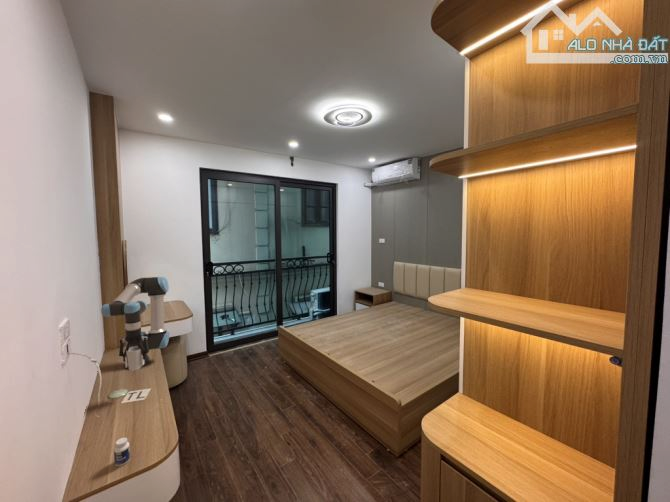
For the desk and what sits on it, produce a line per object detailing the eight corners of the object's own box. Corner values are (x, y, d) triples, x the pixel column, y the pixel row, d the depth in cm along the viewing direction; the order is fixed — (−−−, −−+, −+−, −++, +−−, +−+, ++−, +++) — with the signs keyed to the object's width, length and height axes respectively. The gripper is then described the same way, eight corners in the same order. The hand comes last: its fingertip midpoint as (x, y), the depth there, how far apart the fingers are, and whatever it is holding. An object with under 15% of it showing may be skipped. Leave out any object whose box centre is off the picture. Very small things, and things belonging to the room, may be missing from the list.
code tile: (128, 392, 172) (128, 391, 172) (151, 388, 176) (151, 388, 175) (120, 403, 160) (120, 403, 160) (144, 400, 164) (144, 399, 164)
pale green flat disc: (112, 391, 172) (112, 390, 172) (129, 388, 175) (129, 387, 175) (106, 399, 163) (106, 398, 163) (124, 397, 166) (124, 396, 166)
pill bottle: (114, 469, 117) (113, 447, 116) (115, 460, 121) (113, 439, 120) (130, 462, 120) (129, 441, 119) (130, 454, 124) (129, 434, 124)
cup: (134, 371, 162) (133, 352, 161) (123, 370, 163) (122, 350, 162) (146, 365, 170) (145, 346, 169) (135, 363, 171) (134, 345, 170)
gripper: (109, 332, 158) (112, 371, 160) (151, 329, 164) (152, 365, 166) (115, 328, 165) (117, 365, 167) (154, 324, 171) (156, 360, 173)
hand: (135, 365), depth 166 cm, fingers closed on cup, 7 cm apart
